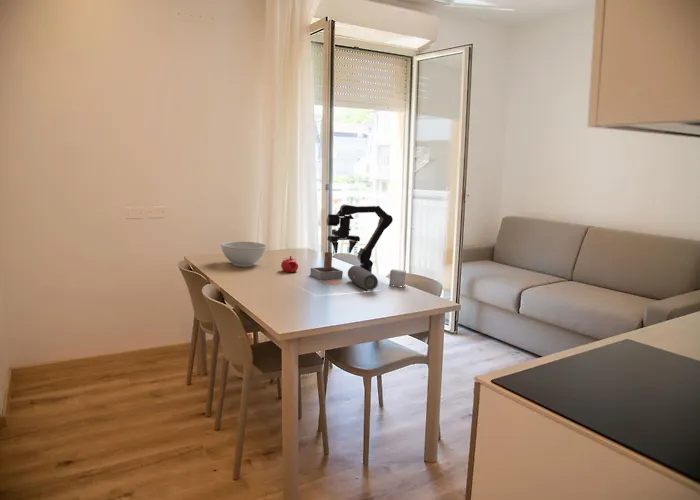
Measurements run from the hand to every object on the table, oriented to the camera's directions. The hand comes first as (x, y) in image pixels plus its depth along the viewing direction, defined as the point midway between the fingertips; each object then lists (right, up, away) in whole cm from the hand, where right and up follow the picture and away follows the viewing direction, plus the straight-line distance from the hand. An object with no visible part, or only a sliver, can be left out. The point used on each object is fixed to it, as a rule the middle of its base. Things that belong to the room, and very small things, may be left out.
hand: (342, 253), depth 288 cm
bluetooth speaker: (+10, -18, -25) cm, 33 cm away
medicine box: (+30, -18, -16) cm, 39 cm away
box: (-9, -14, -9) cm, 19 cm away
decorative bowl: (-61, -7, +13) cm, 62 cm away
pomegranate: (-31, -11, +3) cm, 33 cm away
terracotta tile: (-5, -16, -22) cm, 28 cm away
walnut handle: (-9, -13, -10) cm, 19 cm away
